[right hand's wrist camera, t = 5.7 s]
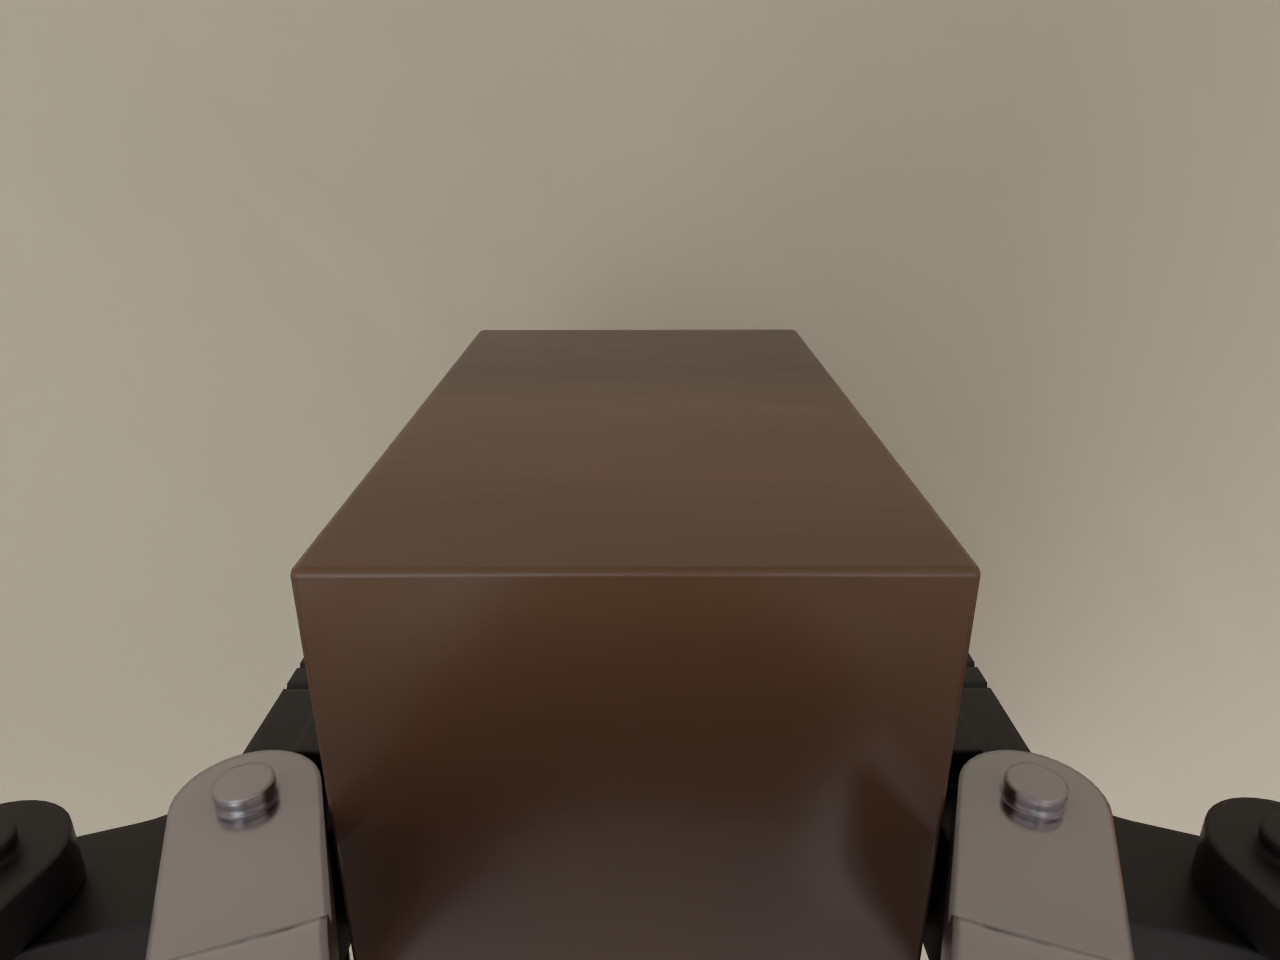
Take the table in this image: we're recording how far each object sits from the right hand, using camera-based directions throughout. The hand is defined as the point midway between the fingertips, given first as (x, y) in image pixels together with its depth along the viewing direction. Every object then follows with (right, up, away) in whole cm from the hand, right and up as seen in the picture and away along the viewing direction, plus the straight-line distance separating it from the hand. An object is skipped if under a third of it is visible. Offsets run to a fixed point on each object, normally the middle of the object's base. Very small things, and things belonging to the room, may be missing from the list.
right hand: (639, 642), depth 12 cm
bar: (0, -6, +6) cm, 9 cm away
